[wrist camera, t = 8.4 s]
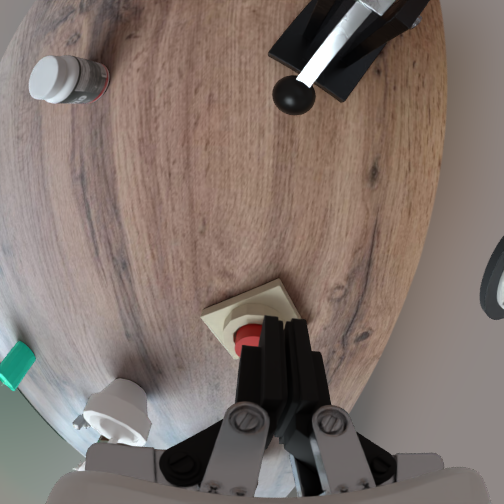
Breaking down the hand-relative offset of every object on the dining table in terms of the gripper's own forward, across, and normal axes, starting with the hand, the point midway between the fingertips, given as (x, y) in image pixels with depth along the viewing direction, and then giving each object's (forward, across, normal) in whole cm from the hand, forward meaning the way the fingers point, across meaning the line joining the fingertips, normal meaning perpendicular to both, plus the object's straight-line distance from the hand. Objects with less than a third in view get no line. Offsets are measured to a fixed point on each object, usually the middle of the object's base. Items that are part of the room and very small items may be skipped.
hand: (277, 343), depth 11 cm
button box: (+17, 0, +13) cm, 22 cm away
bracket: (+17, -4, -19) cm, 26 cm away
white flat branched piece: (+18, +34, +51) cm, 64 cm away
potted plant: (+18, +20, +35) cm, 44 cm away
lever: (+10, -2, -15) cm, 19 cm away
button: (+14, 0, +13) cm, 19 cm away
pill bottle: (+18, +20, -13) cm, 30 cm away
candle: (+18, +48, +36) cm, 63 cm away
